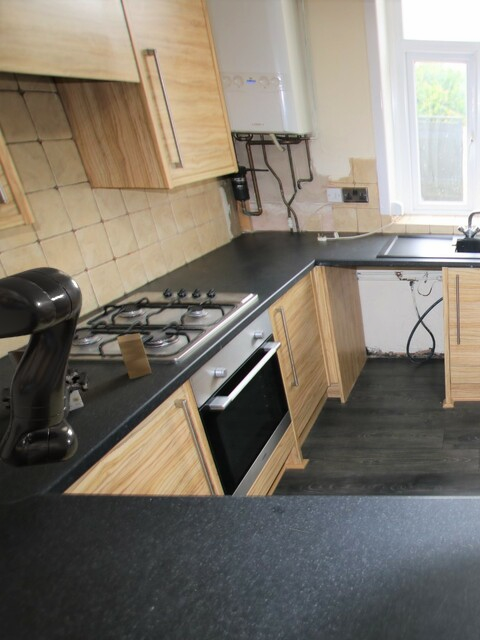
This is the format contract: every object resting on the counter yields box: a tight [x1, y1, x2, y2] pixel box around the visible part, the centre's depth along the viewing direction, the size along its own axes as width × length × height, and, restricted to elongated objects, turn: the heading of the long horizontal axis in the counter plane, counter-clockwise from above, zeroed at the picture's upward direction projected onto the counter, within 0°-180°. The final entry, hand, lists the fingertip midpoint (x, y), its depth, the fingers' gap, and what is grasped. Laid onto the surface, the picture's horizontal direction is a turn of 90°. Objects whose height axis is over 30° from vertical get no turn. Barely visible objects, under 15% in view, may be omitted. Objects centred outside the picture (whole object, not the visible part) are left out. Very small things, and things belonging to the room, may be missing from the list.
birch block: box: [116, 332, 152, 380], centre depth 131 cm, size 5×5×12 cm
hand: (49, 376), depth 111 cm, fingers closed on coffee box, 8 cm apart
